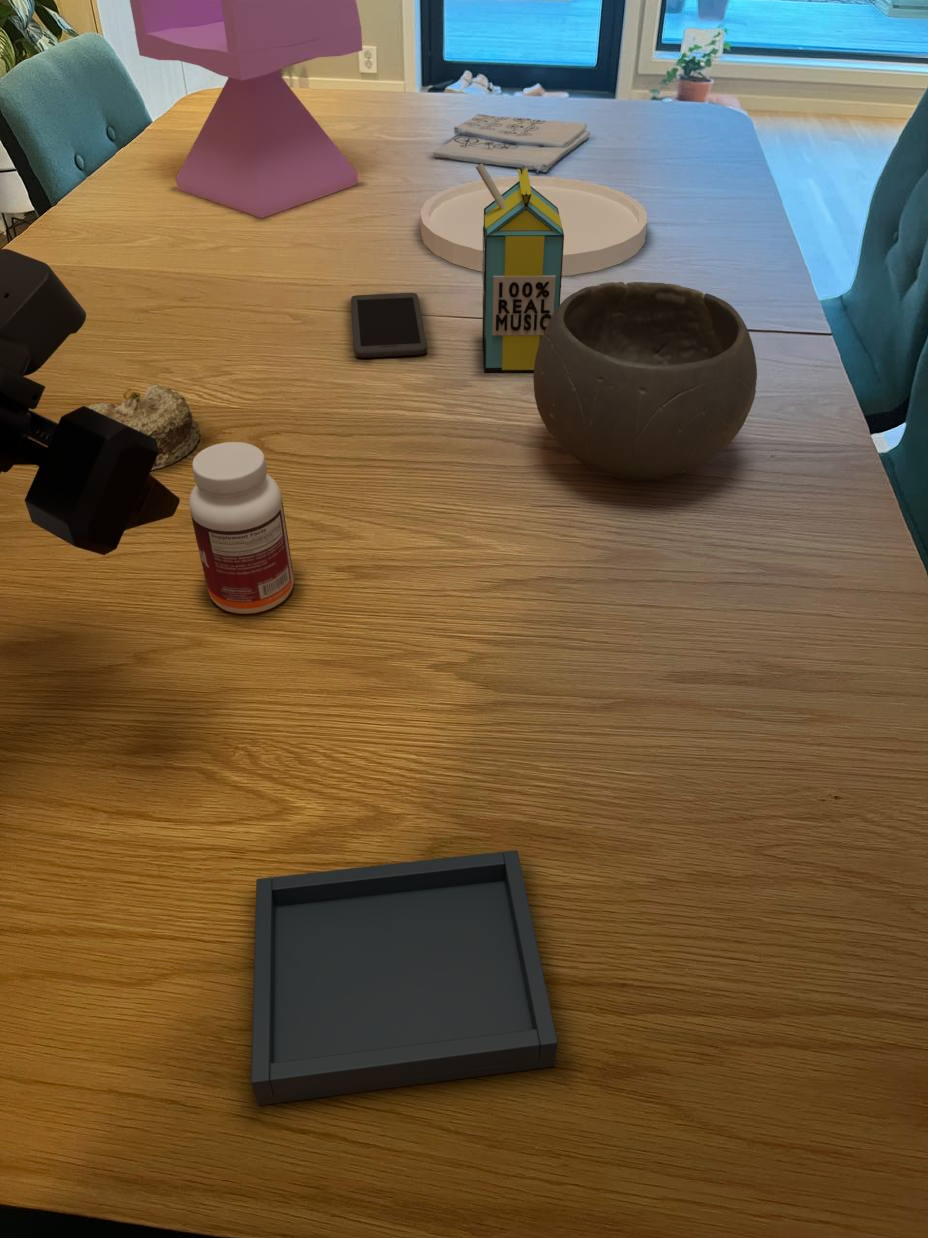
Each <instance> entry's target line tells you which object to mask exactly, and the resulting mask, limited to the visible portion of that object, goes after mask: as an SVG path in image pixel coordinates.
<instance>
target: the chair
mask: <svg viewBox="0 0 928 1238" xmlns="http://www.w3.org/2000/svg"><path fill="white" fill-rule="evenodd" d="M129 4H130V9H131V16H132V20H133V25H134V33H135V38H136V44H137V48H138V49H137V50H138V54H139V56H141V57H145V58H149V59H153V60H157V61H178V62H183V63H187V64H191V65H195V66H197V67H198V66H199V67H201V68H203V69H205V70H207V71H210V72H212V73H215V74H217V75H219V76H222V77H226V78H227V80H226V82H225V84H224V86H223V87H222V89H221V91H220V93H219V95H218V97H217V99H216V100H215V103H214V105H213V107H212V108H211V110H210V112H209V114H208V116H207V117H206V120H205V122H204V124H203V125H202V127H201V129H200V131H199V133H198V135H197V137H196V139H195V141H194V142H193V144H192V147H191V148H190V150H189V152H188V154H187V156H186V157H185V160H184V162H183V163H182V165H181V167H180V169H179V171H178V172H177V175H176V176H175V182H176V187H177V190H178V191H181V192H184V193H187V194H190V195H193V196H195V197H199V198H201V199H204V200H208V201H211V202H213V203H216V204H219V205H222V206H225V207H228V208H231V209H234V210H236V211H238V212H242V213H245V214H248V215H251V216H254V217H257V218H260V219H264V218H267V217H270V216H272V215H275V214H278V213H281V212H284V211H287V210H289V209H292V208H295V207H298V206H301V205H303V204H307V203H310V202H312V201H315V200H317V199H320V198H323V197H327V196H329V195H332V194H334V193H337V192H340V191H343V190H346V189H348V188H349V189H350V188H351V187H354V186H358V185H359V180H358V179H359V178H358V172H357V170H356V169H355V168H354V167H353V165H352V164H351V162H349V161H348V159H347V158H346V156H345V155H344V154H343V153H342V152H341V151H340V149H339V148H338V147H337V145H336V144H335V143H334V141H333V140H332V139H331V138H330V137H329V136H328V134H327V133H326V132H325V130H324V129H323V128H322V127H321V125H320V124H319V122H317V120H316V119H315V117H314V116H313V115H312V114H311V112H309V110H308V109H307V107H306V106H305V105H304V104H303V102H302V101H301V100H300V98H299V97H298V96H297V95H296V93H295V92H294V91H293V90H292V88H291V87H290V86H289V85H288V84H287V82H286V81H285V80H284V78H283V77H282V71H281V69H285V68H287V67H291V66H294V65H297V64H300V63H305V62H308V61H310V60H314V59H317V58H330V57H342V56H346V55H351V54H354V53H357V52H362V51H363V35H362V25H361V20H360V13H359V8H358V3H357V0H129Z"/></svg>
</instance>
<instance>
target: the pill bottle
mask: <svg viewBox="0 0 928 1238" xmlns="http://www.w3.org/2000/svg"><path fill="white" fill-rule="evenodd" d="M191 465H192V473H193V478H194V482H195V486H194V487H193V488H192V490H191V492H190V495H189V498H188V499H189V500H188V507H189V512H190V517H191V521H192V526H193V531H194V535H195V540H196V545H197V548H198V554H199V558H200V562H201V567H202V571H203V575H204V580H205V585H206V589H207V593H208V594H209V597H210V599H211V600H212V602H213V603H215V605H216V606H218V607H219V608H221V609H222V610H225V611H226V612H229V613H233V614H241V615H242V614H243V615H244V614H246V615H248V614H257V613H262V612H265V611H268V610H271V609H272V608H273V609H274V608H275V607H276V606H278V605H280V604H282V602H284V601H285V600H286V599H287V598H288V597H289V596H290V594H291V592H292V590H293V588H294V584H295V583H294V581H295V578H294V569H293V562H292V555H291V549H290V541H289V534H288V529H287V523H286V517H285V516H286V515H285V509H284V503H283V496H282V491H281V489H280V486H279V484H278V483H277V481H276V480H275V479H274V478H273V477H272V476H270V475H269V474H267V473H268V469H267V463H266V457H265V455H264V452H263V451H262V449H260V448H259V447H258V446H255V445H253V444H250V443H248V442H240V441H238V442H237V441H228V442H221V443H216V444H212V445H210V446H208V447H206V448H204V449H202V450H201V451H199V452H198V453H197V454H196V455H195V456H194V458H193V459H192V464H191Z"/></svg>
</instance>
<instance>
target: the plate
mask: <svg viewBox="0 0 928 1238" xmlns="http://www.w3.org/2000/svg"><path fill="white" fill-rule="evenodd" d="M528 176H529V181H530V186H531V187H533V188H534V189H535V190H536V191H538V192H539V193H540V194H541V195H542V196H544V197H545V198H546V199H547V200H549V201H550V202H551V203H552V204H553V205H555V206H556V207H557V208H558V211H559V215H560V220H561V224H562V228H563V233H564V246H563V262H562V277H566V276H567V277H568V276H570V277H571V276H575V275H580V274H586V273H593V272H598V271H601V270H605V269H607V268H610V267H614V266H618V265H620V264H622V263H624V262H626V261H628V260H629V259H632V257H634V256H635V255H637V254H638V253H639V251H640V250H641V249H642V248H643V246H644V245H645V242H646V235H647V226H648V212H647V210H646V209H645V208H644V207H643V205H642V204H641V203H640V202H639V201H637V200H636V199H635V198H633V197H631V196H630V195H628V194H626V193H624V192H623V191H620V190H617V189H614V188H612V187H608V186H607V185H604V184H598V183H594V182H589V181H585V180H582V179H581V180H580V179H572V178H564V177H557V176H535V175H534V176H533V175H528ZM491 179H492V180H493V182H494V184H495V186H496V187H497V189H498V191H499V192H500V194H501V195H502V194H503V193H505V192H506V191H507V190H509V189H510V188H511V187H512V186H514V185H515V184H516V183H517V182H519V175H518V176H499V177H493V178H492V177H491ZM493 201H495V200H494V198H493V196H492V195H491V193H490V191H489V189H488V188H487V186H486V184H485V183H484V181H483V179H479V180H474V181H469V182H465V183H462V184H457V185H453V186H450V187H449V188H446V189H444V190H442V191H440V192H437V193H436V194H433V196H431V197H430V198H429V199H428V200H426V201H425V202H423V203H424V204H423V205H422V207H421V210H420V212H419V221H420V222H419V223H420V225H419V227H420V235H421V239H422V242H423V245H424V246H425V247H427V249H428V250H430V251H431V252H432V253H433V254H434V255H435V256H437V257H439V258H441V259H443V260H445V261H447V262H449V263H451V264H454V265H456V266H460V267H464V268H467V269H470V270H472V271H473V270H474V271H477V272H481V273H482V259H483V226H484V208H486V207H487V206H488V205H489V204H491V203H492V202H493Z"/></svg>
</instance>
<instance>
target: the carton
mask: <svg viewBox="0 0 928 1238" xmlns="http://www.w3.org/2000/svg"><path fill="white" fill-rule="evenodd" d="M516 168H517V174H518V176H519V182H517V183H516V184H515V185H514V186H512V187H511V188H510V189H509V190H507V191H506V192H505V193H503V194H502V195H501V194H500V192H499V191H498V189H497V187H496V186H495V184H494V182H493V180H492V177H491V175H490V173H489V172H488V171H487V169H486V167H485V165H484V163H479V165H477V166H476V167H475V169H476V172H477V173H478V175H479V176H480V178H481V180H483V181H484V183H485V184H486V186H487V188H488V189H489V191H490V193H491V195H492V196H493V198H494V200H495V201H493V202H492V203H491V204H489V205H488V206H487V207H486V208H484V226H483V259H482V272H481V273H482V279H481V280H482V334H481V335H482V340H481V341H482V357H483V373H484V374H485V373H486V374H487V373H488V374H489V373H490V374H491V373H493V374H494V373H498V374H499V373H500V374H501V373H503V374H504V373H511V374H512V373H513V374H514V373H515V374H516V373H534V365H535V359H536V354H537V350H538V347H539V344H540V341H541V339H542V336H543V334H544V331H545V329H546V327H547V325H548V323H549V321H550V319H551V317H552V315H553V314H554V312H555V311H556V309H557V308H558V307H559V305H560V304H561V293H562V277H563V276H562V262H563V246H564V233H563V228H562V224H561V220H560V215H559V211H558V208H557V207H556V206H555V205H553V204H552V203H551V202H550V201H549V200H547V199H546V198H545V197H544V196H542V195H541V194H540V193H539V192H538V191H536V190H535V189H534V188H533V187H531V186H530V181H529V176H530V175H529V170H527V168H526V169H525V170H523V169H521V168H518V167H516Z"/></svg>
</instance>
